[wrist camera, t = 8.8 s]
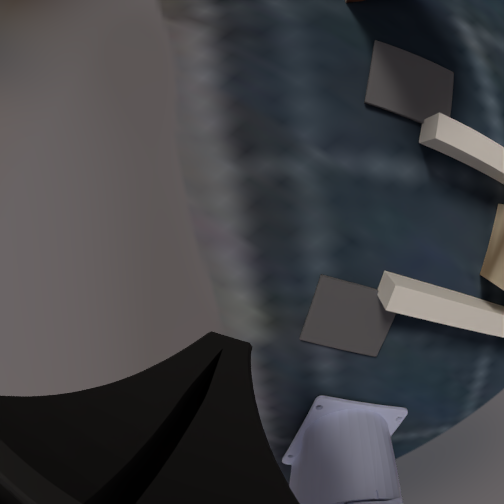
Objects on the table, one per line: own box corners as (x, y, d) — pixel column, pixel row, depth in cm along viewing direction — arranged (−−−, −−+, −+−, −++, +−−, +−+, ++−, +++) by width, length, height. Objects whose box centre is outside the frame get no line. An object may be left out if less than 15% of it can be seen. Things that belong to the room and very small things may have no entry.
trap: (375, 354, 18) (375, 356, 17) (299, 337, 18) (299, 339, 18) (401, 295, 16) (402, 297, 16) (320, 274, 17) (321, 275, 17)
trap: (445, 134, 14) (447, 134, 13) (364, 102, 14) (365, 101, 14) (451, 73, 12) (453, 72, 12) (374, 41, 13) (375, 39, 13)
